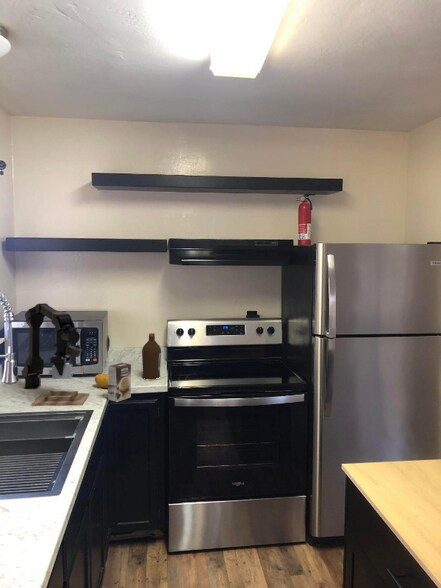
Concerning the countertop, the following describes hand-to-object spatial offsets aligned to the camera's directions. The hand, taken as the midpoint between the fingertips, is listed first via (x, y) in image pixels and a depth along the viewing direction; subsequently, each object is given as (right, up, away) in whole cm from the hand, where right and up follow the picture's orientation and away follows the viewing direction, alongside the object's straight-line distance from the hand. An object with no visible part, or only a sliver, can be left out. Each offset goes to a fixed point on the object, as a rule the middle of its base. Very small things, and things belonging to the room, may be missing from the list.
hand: (62, 374), depth 202 cm
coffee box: (+26, -12, +4) cm, 29 cm away
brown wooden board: (0, -12, -1) cm, 12 cm away
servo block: (0, -2, 0) cm, 2 cm away
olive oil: (+35, -10, +41) cm, 55 cm away
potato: (+16, -11, +21) cm, 28 cm away
